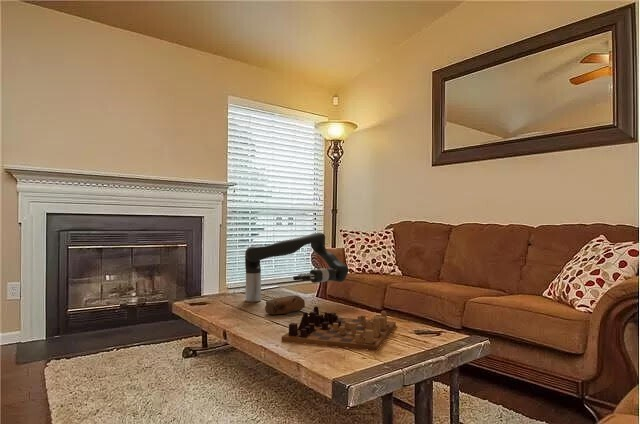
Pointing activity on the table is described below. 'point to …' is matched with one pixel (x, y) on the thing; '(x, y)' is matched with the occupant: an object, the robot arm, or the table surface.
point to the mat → (292, 313)
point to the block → (284, 305)
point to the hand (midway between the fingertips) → (294, 278)
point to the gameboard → (340, 330)
